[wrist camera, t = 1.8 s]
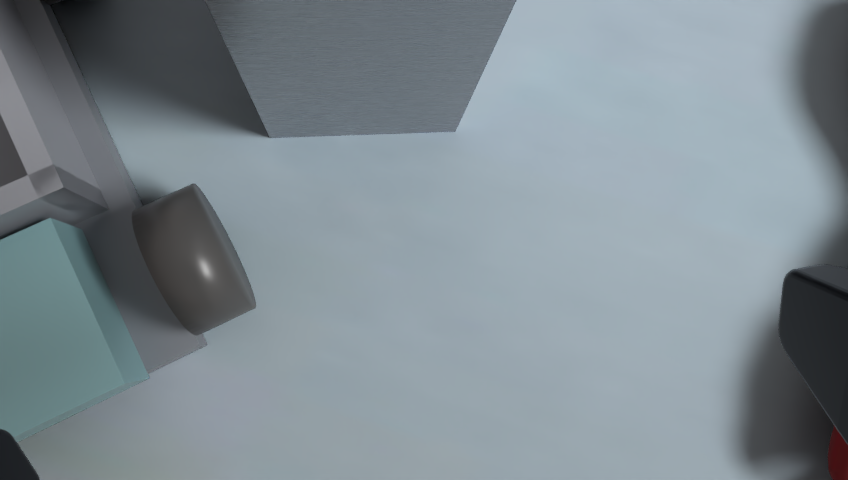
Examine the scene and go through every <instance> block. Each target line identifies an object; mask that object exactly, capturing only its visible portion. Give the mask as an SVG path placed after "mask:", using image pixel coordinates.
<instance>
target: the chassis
mask: <svg viewBox="0 0 848 480" xmlns="http://www.w3.org/2000/svg"><path fill="white" fill-rule="evenodd" d="M60 1H62V0H0V429H3V430H6V431H7V432H9V433H10V434H11V435H12V436H13V437H14V439H15V441H16V442H19V441H21V440H23V439H25V438H27V437H29V436H31V435H33V434H35V433H37V432H39V431H42V430H44V429H46V428H48V427H50V426H52V425H54V424H56V423H58V422H60V421H62V420H64V419H66V418H68V417H71V416H73V415H75V414H77V413H79V412H81V411H83V410H85V409H87V408H89V407H91V406H93V405H95V404H97V403H99V402H102V401H104V400H106V399H108V398H110V397H112V396H114V395H116V394H118V393H120V392H122V391H124V390H126V389H128V388H130V387H133V386H135V385H137V384H139V383H141V382H143V381H145V380H147V379H149V378H150V377H149V375H148V374H149V373H151V372H153V371H155V370H157V369H159V368H161V367H163V366H165V365H167V364H169V363H171V362H174V361H176V360H178V359H180V358H182V357H184V356H186V355H188V354H190V353H192V352H194V351H196V350H198V349H201V348H203V347H205V346H207V343H206V340H205V338H204V336H203V334H202V333H204V332H206V331H208V330H210V329H212V328H215V327H217V326H219V325H221V324H223V323H225V322H227V321H229V320H231V319H233V318H235V317H237V316H240V315H242V314H244V313H246V312H248V311H250V310H252V309H254V308H256V301H255V297H254V294H253V291H252V288H251V285H250V283H249V280H248V277H247V275H246V273H245V270H244V268H243V266H242V263H241V261H240V259H239V257H238V255H237V253H236V250H235V248H234V246H233V244H232V242H231V240H230V238H229V236H228V234H227V232H226V231H225V229H224V227H223V225H222V223H221V221H220V220H219V218H218V216H217V214H216V212H215V211H214V209H213V207H212V206H211V204H210V203H209V201H208V199H207V198H206V196H205V195H204V194H203V192H202V191H201V190H200V188H199V187H198V186H197V185H196V184H191V185H189V186H186V187H184V188H182V189H180V190H178V191H175V192H173V193H171V194H169V195H166V196H164V197H162V198H160V199H158V200H155V201H153V202H151V203H149V204H146V205H144V206H143V205H142V202H141V200H140V198H139V196H138V194H137V192H136V189H135V187H134V185H133V183H132V181H131V179H130V176H129V174H128V172H127V170H126V168H125V166H124V164H123V161H122V159H121V157H120V155H119V153H118V151H117V148H116V146H115V144H114V142H113V140H112V138H111V135H110V133H109V131H108V129H107V127H106V125H105V123H104V120H103V118H102V116H101V114H100V112H99V110H98V107H97V105H96V103H95V101H94V99H93V97H92V95H91V92H90V90H89V88H88V86H87V84H86V82H85V79H84V77H83V75H82V73H81V71H80V69H79V66H78V64H77V62H76V60H75V58H74V56H73V54H72V51H71V49H70V47H69V45H68V43H67V41H66V38H65V36H64V34H63V32H62V30H61V28H60V25H59V23H58V21H57V19H56V17H55V15H54V13H53V10H52V8H51V6H50V5H52V4H55V3H57V2H60Z"/></svg>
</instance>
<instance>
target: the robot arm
mask: <svg viewBox="0 0 848 480" xmlns="http://www.w3.org/2000/svg"><path fill="white" fill-rule="evenodd" d="M778 330H779V337H780V341H781V344H782V346H783V348H784V350H785V352H786V354H787V355H788V357H789V358H790V360H791V361H792V363H793V364H794V366H795V367H796V369H797V370H798V372H799V373H800V375H801V376H802V378H803V379H804V381H805V382H806V384H807V385H808V387H809V388H810V390H811V391H812V393H813V394H814V396H815V397H816V399H817V400H818V402H819V403H820V405H821V406H822V408H823V409H824V411H825V412H826V414H827V415H828V417H829V418H830V420H831V421H832V423H833V424H834V426H835V427H836V429H837V430H838V432H839V433H840V435H841V436H842V437H843V439H844V440H845V442H846V443H847V444H848V268H842V267H837V266H832V265H823V264H819V265H814V266H809V267H804V268H799V269H794V270H791V271H790V272H788V273H787V274H786V276H785V278H784V282H783V288H782V298H781V307H780V316H779V329H778ZM0 480H40V479H39V476H38V474H37V473H36V471H35V470H34V468H33V466H32V465H31V463H30V462H29V460H28V459H27V457H26V456H25V454H24V453H23V451H22V450H21V448H20V447H19V445H18V444H17V442H16V441H15V439H14V437H13V436H12V435H11V434H10V433H9V432H7V431H6V430H3V429H0Z"/></svg>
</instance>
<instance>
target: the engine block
mask: <svg viewBox="0 0 848 480" xmlns="http://www.w3.org/2000/svg"><path fill="white" fill-rule="evenodd" d="M205 2H206V4H207V6H208V8H209V10H210V12H211V15H212V17H213V19H214V21H215V23H216V25H217V27H218V29H219V31H220V34H221V36H222V38H223V40H224V42H225V44H226V46H227V48H228V50H229V53H230V55H231V57H232V59H233V61H234V63H235V65H236V67H237V69H238V71H239V74H240V76H241V78H242V80H243V82H244V84H245V86H246V88H247V90H248V93H249V95H250V97H251V99H252V101H253V103H254V105H255V107H256V109H257V112H258V114H259V116H260V118H261V120H262V122H263V124H264V126H265V128H266V130H267V133H268V135H269V137H270V138H281V137H311V136H341V135H370V134H400V133H429V132H455V131H456V129H457V127H458V125H459V123H460V120H461V118H462V116H463V114H464V112H465V110H466V107H467V105H468V103H469V101H470V99H471V97H472V95H473V92H474V90H475V88H476V86H477V84H478V82H479V79H480V77H481V75H482V73H483V71H484V69H485V67H486V64H487V62H488V60H489V58H490V56H491V54H492V52H493V49H494V47H495V45H496V43H497V41H498V39H499V36H500V34H501V32H502V30H503V28H504V26H505V24H506V21H507V19H508V17H509V15H510V13H511V11H512V8H513V6H514V4H515V2H516V0H205Z"/></svg>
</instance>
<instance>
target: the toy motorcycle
mask: <svg viewBox="0 0 848 480" xmlns="http://www.w3.org/2000/svg"><path fill="white" fill-rule="evenodd" d="M828 470H829V472H830V475H831V477H832V479H833V480H848V444H847V443H846V442H845V440H844V439H843V437H842V436H841V435H840V433H839V432H838V430H837V429H836V427H835V426H834V428H833V431H832V435H831V439H830V443H829V449H828Z"/></svg>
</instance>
